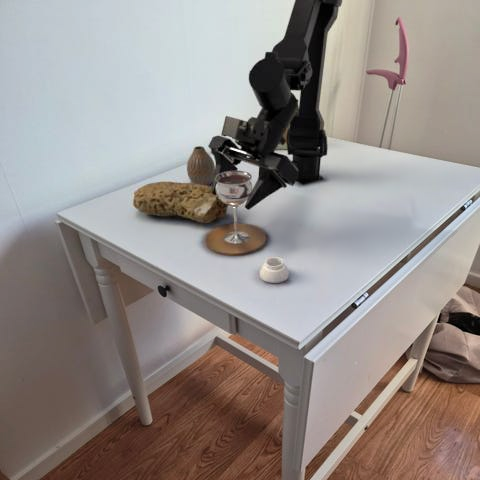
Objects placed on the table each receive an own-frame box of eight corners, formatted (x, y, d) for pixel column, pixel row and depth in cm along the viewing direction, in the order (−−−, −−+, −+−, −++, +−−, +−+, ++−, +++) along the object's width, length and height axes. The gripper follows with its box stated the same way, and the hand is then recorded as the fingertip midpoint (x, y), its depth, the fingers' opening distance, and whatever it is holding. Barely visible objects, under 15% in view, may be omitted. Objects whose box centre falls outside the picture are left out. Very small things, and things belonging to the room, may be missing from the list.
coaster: (247, 220, 90) (247, 218, 89) (277, 244, 81) (277, 242, 81) (195, 235, 86) (195, 233, 85) (222, 262, 77) (222, 259, 77)
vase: (217, 178, 109) (215, 142, 103) (214, 188, 103) (210, 152, 98) (191, 178, 109) (187, 143, 104) (186, 189, 104) (181, 152, 98)
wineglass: (213, 234, 84) (208, 175, 77) (243, 225, 87) (241, 167, 79) (228, 249, 80) (224, 187, 72) (259, 239, 82) (259, 179, 74)
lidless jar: (273, 265, 76) (253, 277, 73) (273, 251, 74) (253, 262, 71) (294, 275, 73) (275, 288, 70) (295, 261, 71) (275, 273, 68)
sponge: (233, 216, 94) (166, 182, 100) (234, 187, 88) (161, 152, 94) (196, 250, 88) (126, 211, 94) (193, 222, 81) (119, 182, 88)
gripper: (211, 87, 75) (170, 166, 77) (289, 103, 64) (239, 195, 66) (245, 124, 84) (207, 194, 86) (319, 143, 73) (274, 224, 75)
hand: (229, 201), depth 78 cm, fingers open, 9 cm apart
